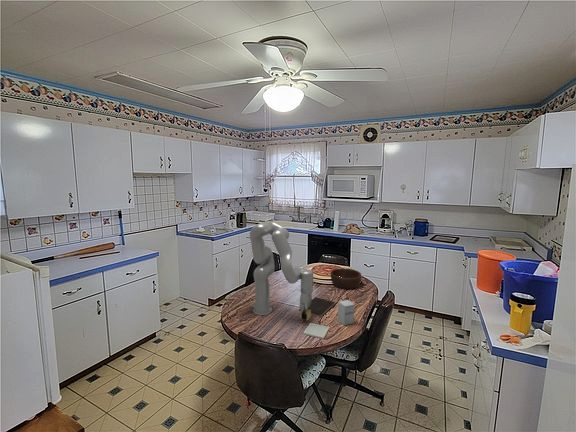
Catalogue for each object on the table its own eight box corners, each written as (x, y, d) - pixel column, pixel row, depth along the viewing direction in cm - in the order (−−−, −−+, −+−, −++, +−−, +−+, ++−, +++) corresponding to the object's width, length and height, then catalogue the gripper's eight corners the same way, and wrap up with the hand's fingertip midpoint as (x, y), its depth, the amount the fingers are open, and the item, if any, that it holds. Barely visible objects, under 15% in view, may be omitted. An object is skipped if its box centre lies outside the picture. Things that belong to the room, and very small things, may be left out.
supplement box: (344, 325, 174) (344, 306, 172) (337, 320, 180) (337, 301, 179) (354, 323, 177) (354, 304, 175) (347, 318, 183) (347, 299, 182)
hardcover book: (334, 305, 203) (335, 302, 202) (320, 318, 183) (320, 315, 183) (314, 299, 211) (314, 296, 211) (298, 312, 192) (298, 308, 192)
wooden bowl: (327, 280, 250) (327, 268, 248) (354, 279, 252) (355, 267, 251) (334, 291, 225) (335, 279, 223) (365, 290, 228) (366, 278, 226)
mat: (303, 334, 164) (303, 332, 164) (310, 324, 175) (310, 322, 175) (323, 339, 160) (323, 337, 159) (329, 328, 170) (329, 327, 170)
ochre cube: (300, 318, 179) (300, 311, 179) (303, 315, 184) (303, 308, 183) (307, 320, 177) (308, 313, 177) (310, 317, 182) (310, 309, 181)
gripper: (305, 284, 187) (304, 310, 190) (295, 293, 171) (294, 322, 174) (316, 286, 184) (315, 312, 187) (307, 296, 168) (306, 325, 171)
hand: (305, 316), depth 180 cm, fingers closed on ochre cube, 5 cm apart
